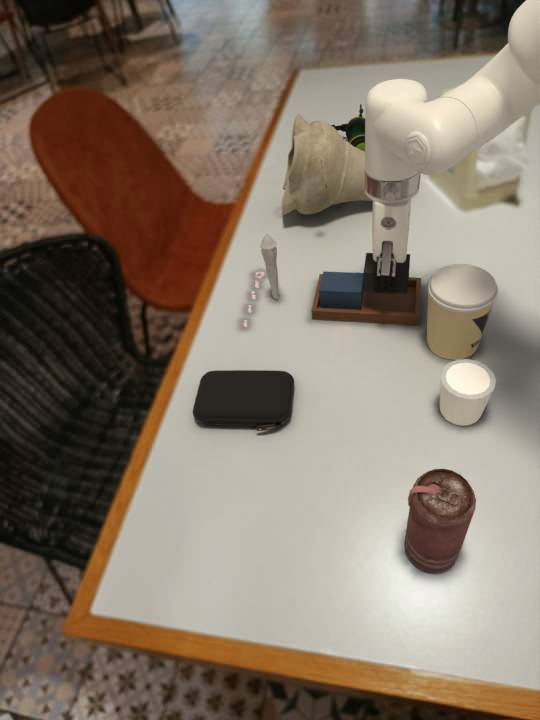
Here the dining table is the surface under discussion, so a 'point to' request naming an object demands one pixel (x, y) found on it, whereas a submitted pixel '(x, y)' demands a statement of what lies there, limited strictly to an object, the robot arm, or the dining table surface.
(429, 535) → the can
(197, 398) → the carrying case
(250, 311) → the flower petals
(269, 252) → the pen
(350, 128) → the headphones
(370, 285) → the pad
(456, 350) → the coffee cup
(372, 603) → the dining table surface
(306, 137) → the vase
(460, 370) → the white short cylinder
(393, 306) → the tray
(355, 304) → the blue block
